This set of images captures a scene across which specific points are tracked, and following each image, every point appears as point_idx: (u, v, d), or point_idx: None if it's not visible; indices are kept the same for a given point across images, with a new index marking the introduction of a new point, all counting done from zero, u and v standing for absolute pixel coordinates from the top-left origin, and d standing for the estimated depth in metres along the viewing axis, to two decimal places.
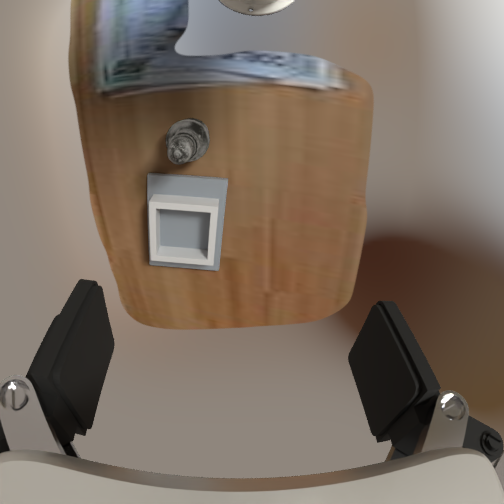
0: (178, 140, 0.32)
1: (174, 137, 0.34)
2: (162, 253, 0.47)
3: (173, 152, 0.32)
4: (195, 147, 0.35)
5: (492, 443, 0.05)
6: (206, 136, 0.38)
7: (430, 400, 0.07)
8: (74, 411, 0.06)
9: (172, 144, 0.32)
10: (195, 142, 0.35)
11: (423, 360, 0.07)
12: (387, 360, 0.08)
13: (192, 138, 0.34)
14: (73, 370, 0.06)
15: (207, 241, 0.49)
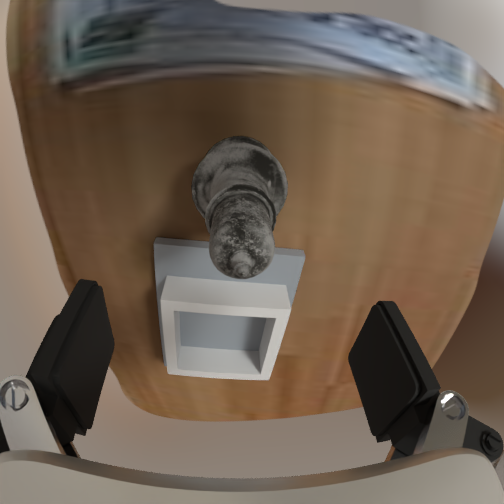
0: (241, 220, 0.12)
1: (220, 196, 0.14)
2: (186, 363, 0.28)
3: (229, 257, 0.12)
4: (271, 222, 0.15)
5: (492, 443, 0.05)
6: (281, 182, 0.18)
7: (430, 400, 0.07)
8: (74, 411, 0.06)
9: (225, 232, 0.12)
10: (272, 210, 0.15)
11: (423, 360, 0.07)
12: (387, 360, 0.08)
13: (266, 201, 0.15)
14: (73, 370, 0.06)
15: (258, 341, 0.30)
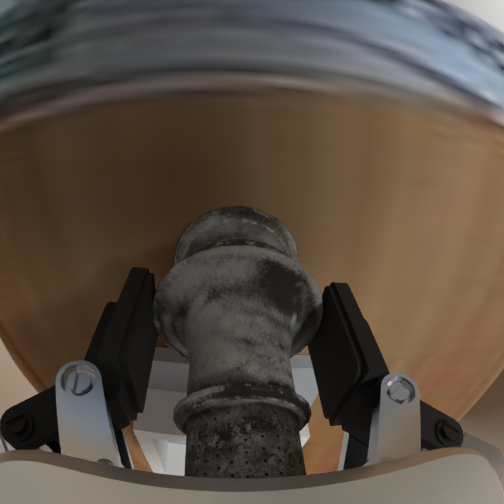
0: None
1: (198, 404, 0.06)
2: (175, 466, 0.19)
3: None
4: (301, 425, 0.07)
5: (448, 432, 0.06)
6: (314, 310, 0.10)
7: (378, 382, 0.08)
8: (132, 394, 0.07)
9: None
10: (305, 413, 0.07)
11: (369, 340, 0.08)
12: (335, 340, 0.09)
13: (295, 406, 0.06)
14: (135, 353, 0.07)
15: None
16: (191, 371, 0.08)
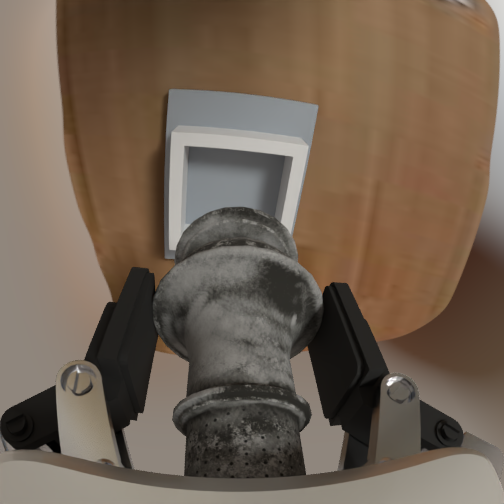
0: None
1: (198, 405, 0.06)
2: None
3: None
4: (301, 426, 0.07)
5: (448, 433, 0.06)
6: (314, 310, 0.10)
7: (378, 382, 0.08)
8: (132, 394, 0.07)
9: None
10: (305, 414, 0.07)
11: (369, 340, 0.08)
12: (335, 340, 0.09)
13: (295, 407, 0.06)
14: (135, 353, 0.07)
15: None
16: (191, 372, 0.08)
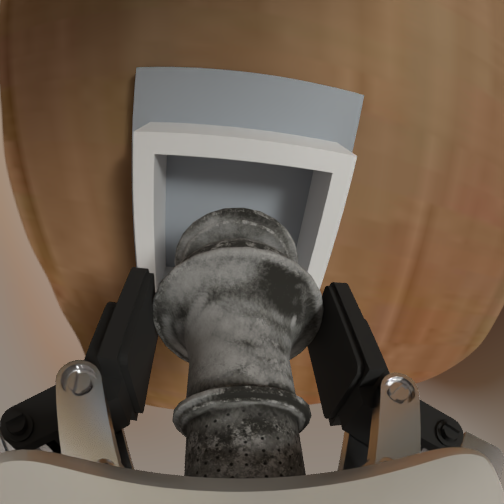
0: None
1: (198, 406, 0.06)
2: None
3: None
4: (301, 427, 0.07)
5: (448, 432, 0.06)
6: (314, 312, 0.10)
7: (378, 382, 0.08)
8: (132, 394, 0.07)
9: None
10: (305, 415, 0.07)
11: (369, 340, 0.08)
12: (335, 340, 0.09)
13: (294, 408, 0.06)
14: (135, 353, 0.07)
15: None
16: (191, 373, 0.08)
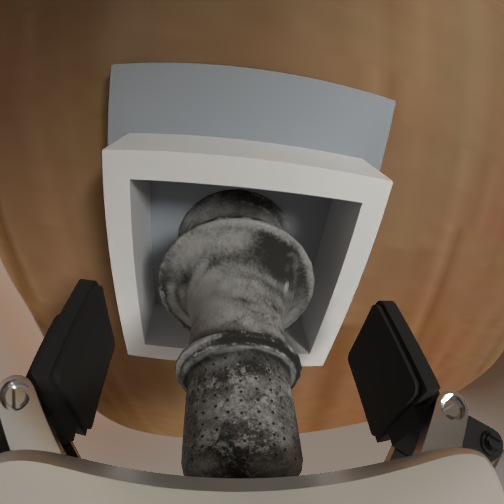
0: (241, 449, 0.05)
1: (199, 352, 0.07)
2: (162, 333, 0.14)
3: None
4: (293, 380, 0.08)
5: (492, 443, 0.05)
6: (305, 280, 0.11)
7: (430, 400, 0.07)
8: (74, 411, 0.06)
9: (209, 471, 0.05)
10: (296, 366, 0.08)
11: (423, 360, 0.07)
12: (387, 360, 0.08)
13: (285, 356, 0.08)
14: (73, 370, 0.06)
15: None
16: (193, 329, 0.09)
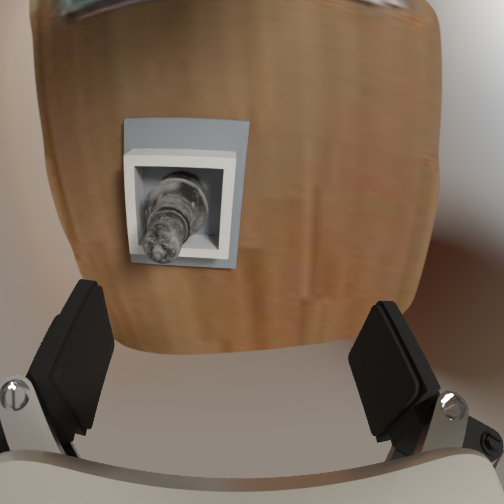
0: (158, 228, 0.20)
1: (154, 214, 0.23)
2: None
3: (151, 249, 0.20)
4: (187, 229, 0.24)
5: (492, 443, 0.05)
6: (203, 203, 0.27)
7: (430, 400, 0.07)
8: (74, 411, 0.06)
9: (149, 235, 0.20)
10: (186, 221, 0.23)
11: (423, 360, 0.07)
12: (387, 360, 0.08)
13: (181, 216, 0.23)
14: (73, 370, 0.06)
15: (217, 222, 0.32)
16: None
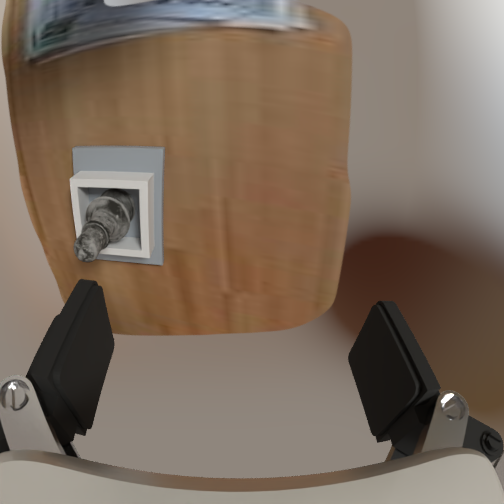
0: (82, 237, 0.27)
1: (85, 226, 0.29)
2: None
3: (78, 252, 0.27)
4: (107, 236, 0.30)
5: (492, 443, 0.05)
6: (125, 215, 0.33)
7: (430, 400, 0.07)
8: (74, 411, 0.06)
9: (76, 242, 0.27)
10: (106, 231, 0.30)
11: (423, 360, 0.07)
12: (387, 360, 0.08)
13: (102, 227, 0.29)
14: (73, 370, 0.06)
15: None
16: None
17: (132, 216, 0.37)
